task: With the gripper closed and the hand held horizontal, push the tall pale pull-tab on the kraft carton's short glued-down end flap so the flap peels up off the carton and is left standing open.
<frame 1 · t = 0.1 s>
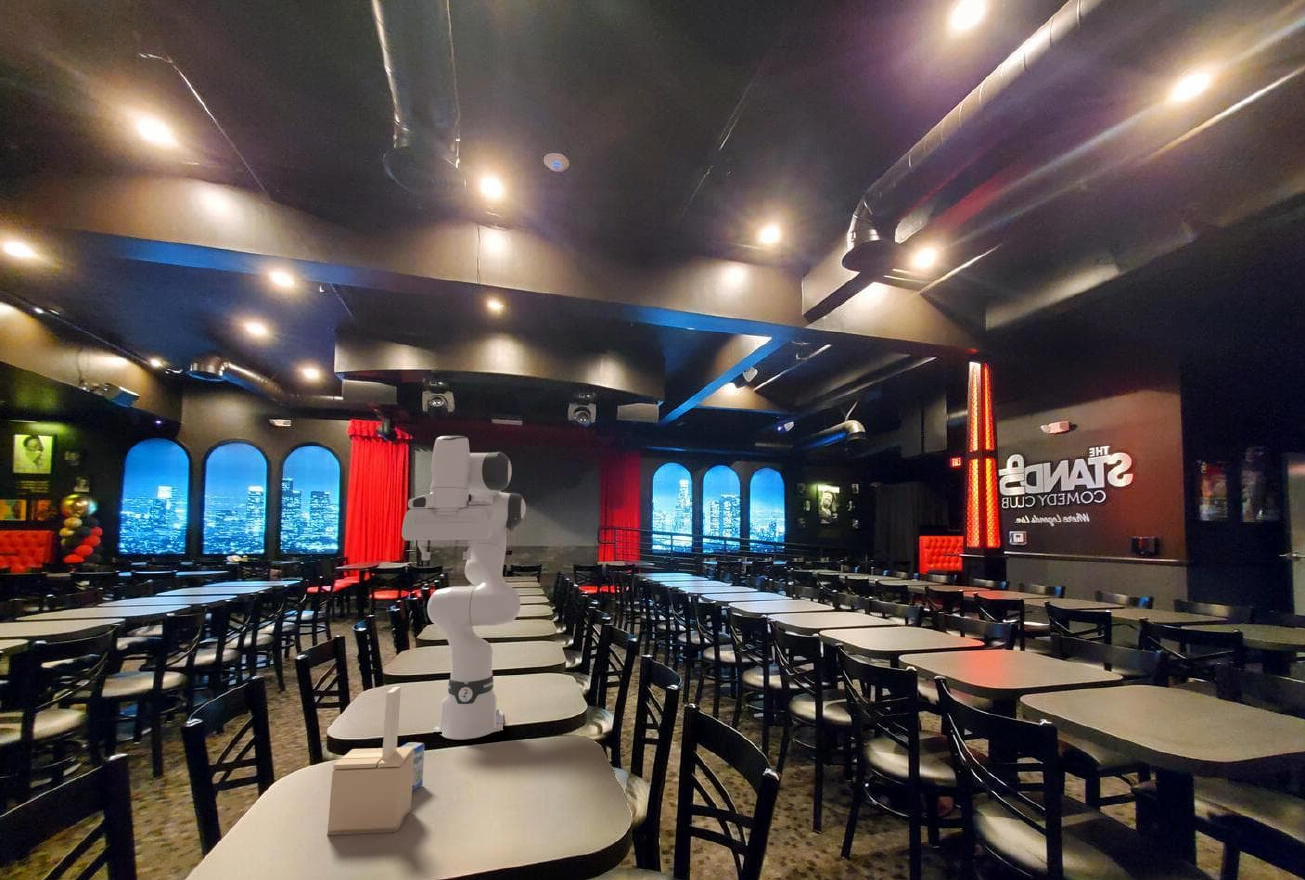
hand: (446, 559, 130), 48 cm above the table, tool pointing down, fingers open, 8 cm apart
flap: (398, 723, 107), point 17 cm above the table, hinge at 0.0°
carton: (370, 822, 104), on the table
medicine box: (402, 793, 116), on the table
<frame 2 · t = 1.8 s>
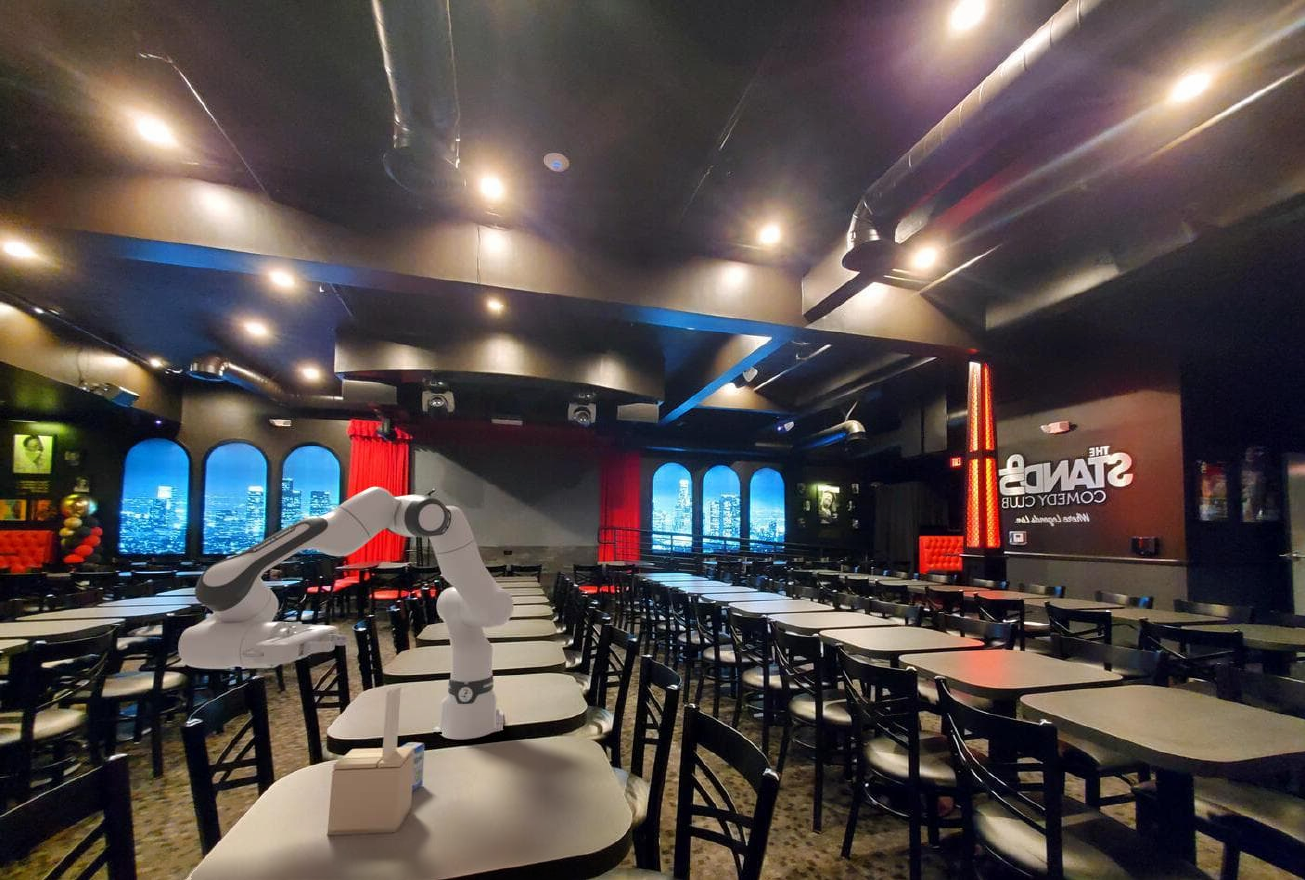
hand: (340, 643, 113), 32 cm above the table, tool horizontal, fingers open, 5 cm apart
nothing on the table moved.
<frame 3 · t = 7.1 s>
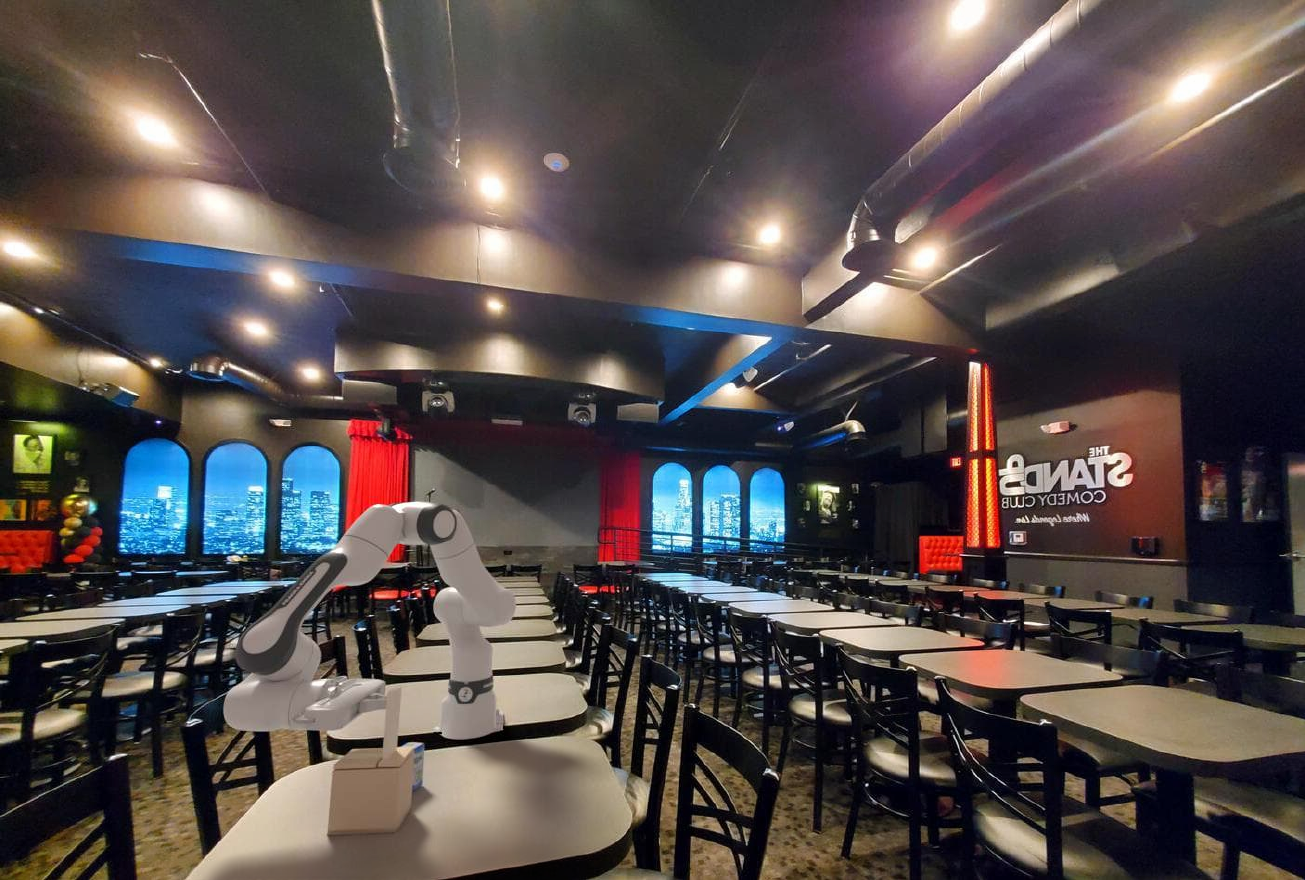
hand: (390, 702, 108), 21 cm above the table, tool horizontal, fingers closed, pressing on flap
flap: (399, 723, 107), point 17 cm above the table, hinge at 0.8°, touching gripper
everything else where it was.
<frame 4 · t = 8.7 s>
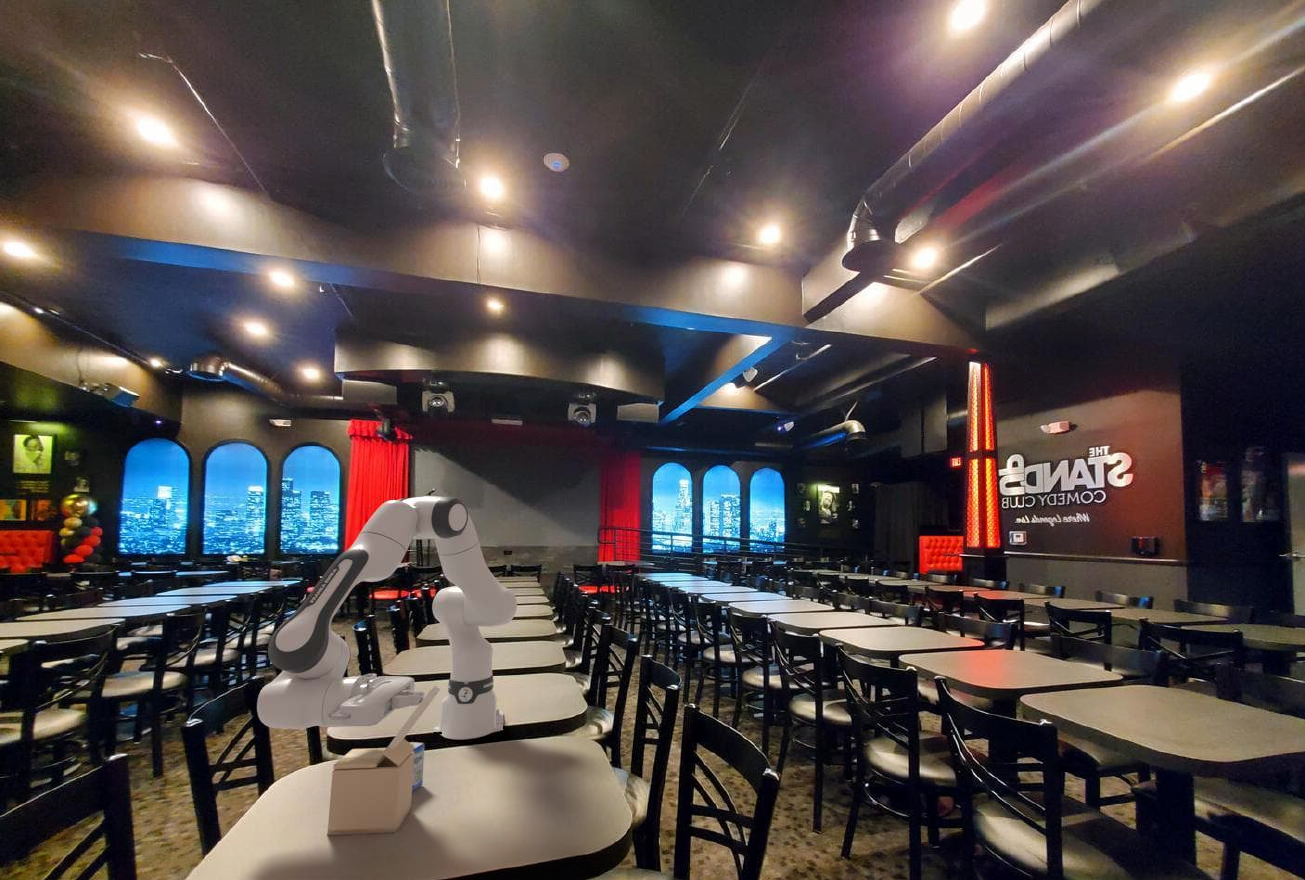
hand: (422, 698, 109), 22 cm above the table, tool horizontal, fingers closed, pressing on flap
flap: (419, 722, 108), point 17 cm above the table, hinge at 36.1°, touching gripper
everything else where it was.
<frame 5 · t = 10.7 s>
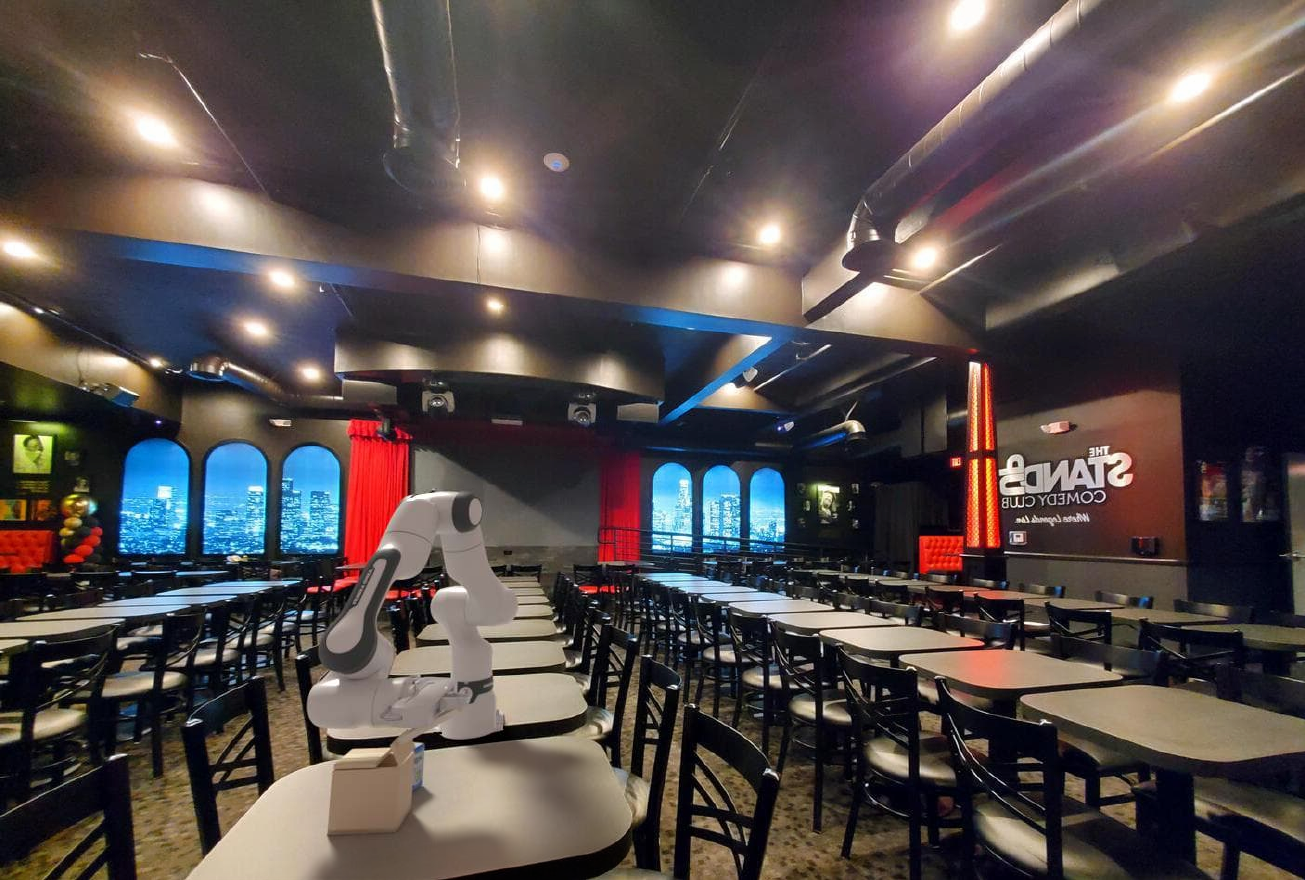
hand: (468, 700, 109), 21 cm above the table, tool horizontal, fingers closed
flap: (432, 730, 108), point 16 cm above the table, hinge at 63.6°
everything else where it was.
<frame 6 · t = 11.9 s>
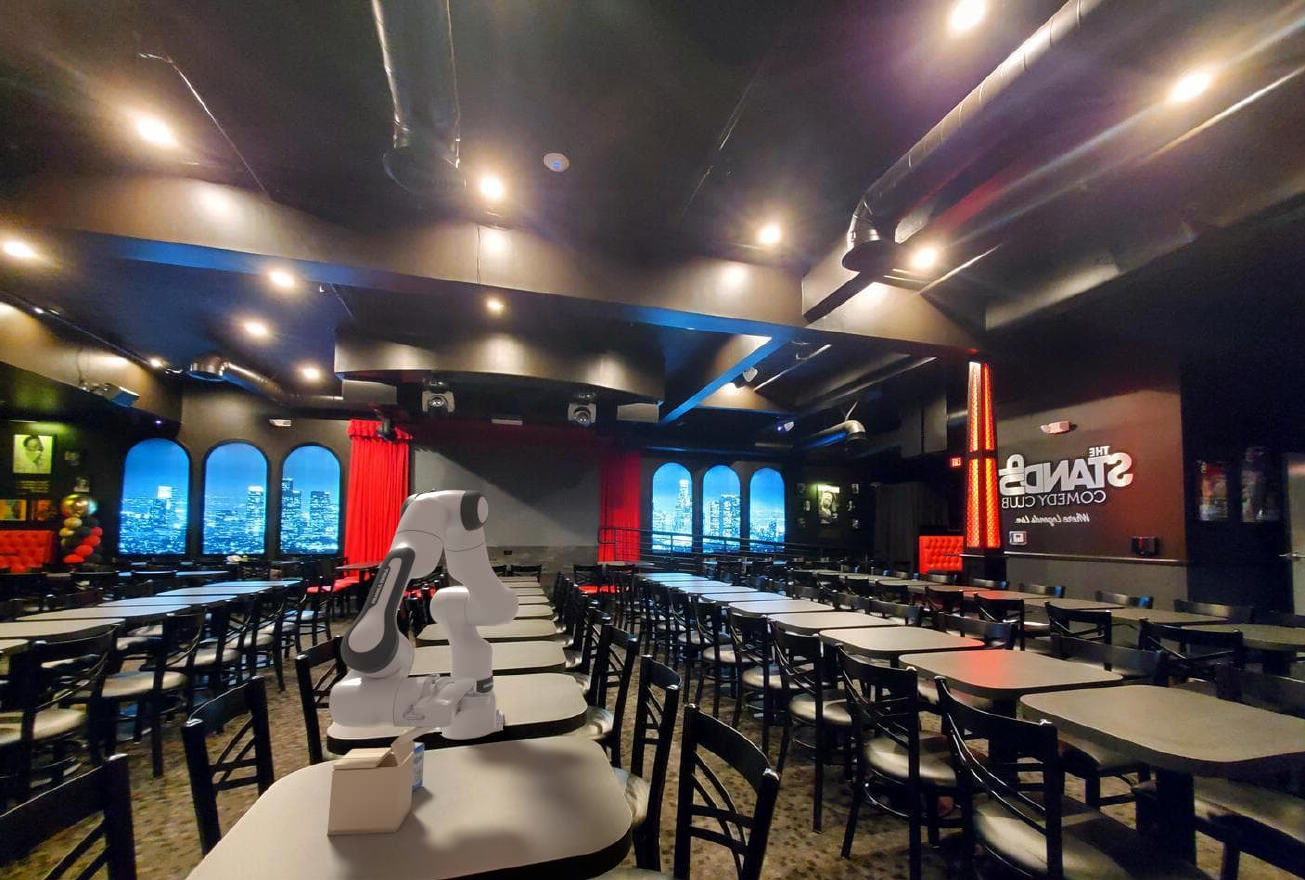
hand: (488, 699, 109), 21 cm above the table, tool horizontal, fingers closed
flap: (433, 731, 108), point 16 cm above the table, hinge at 65.9°, touching arm
everything else where it was.
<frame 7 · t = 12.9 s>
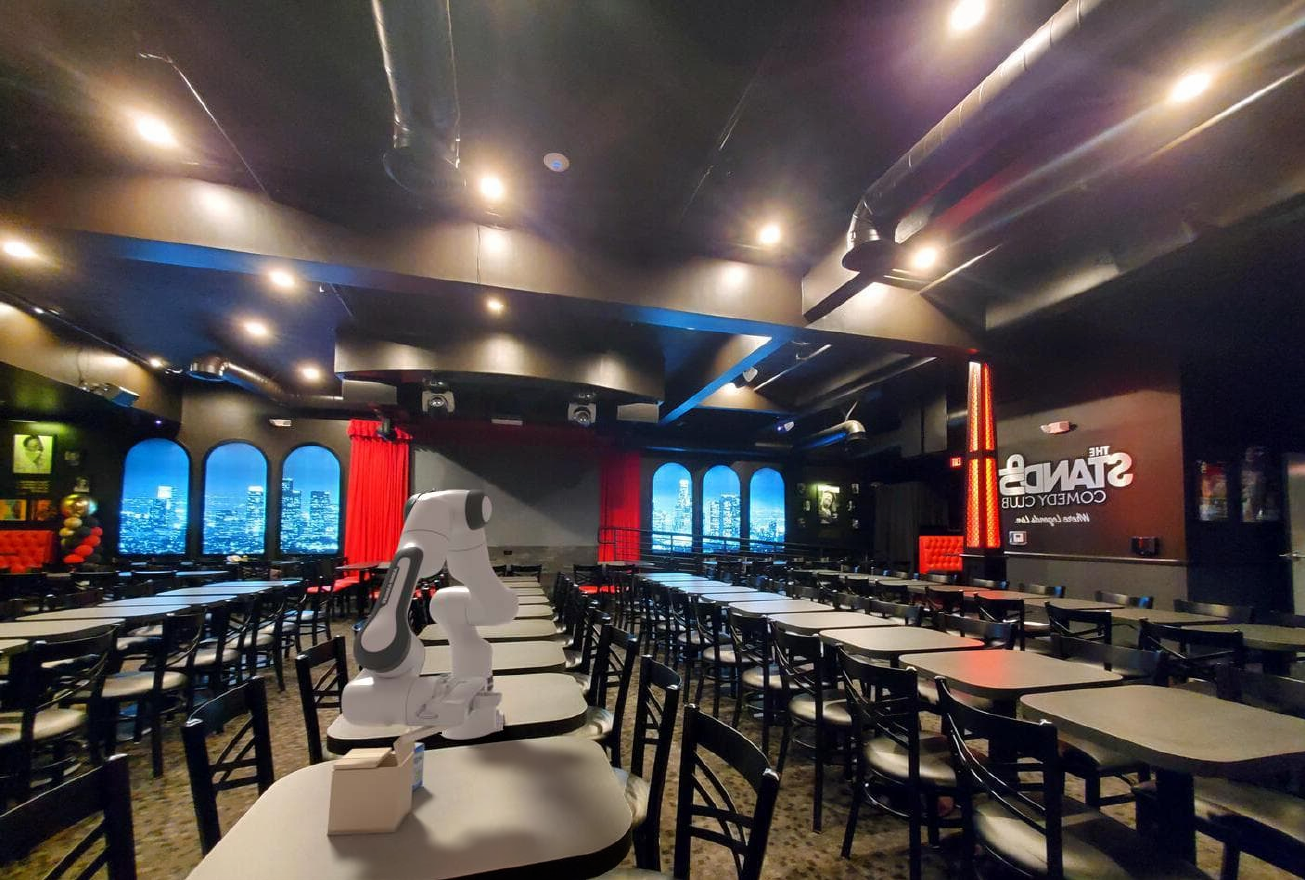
hand: (500, 699, 109), 21 cm above the table, tool horizontal, fingers closed
flap: (435, 735, 108), point 15 cm above the table, hinge at 73.3°, touching arm
everything else where it was.
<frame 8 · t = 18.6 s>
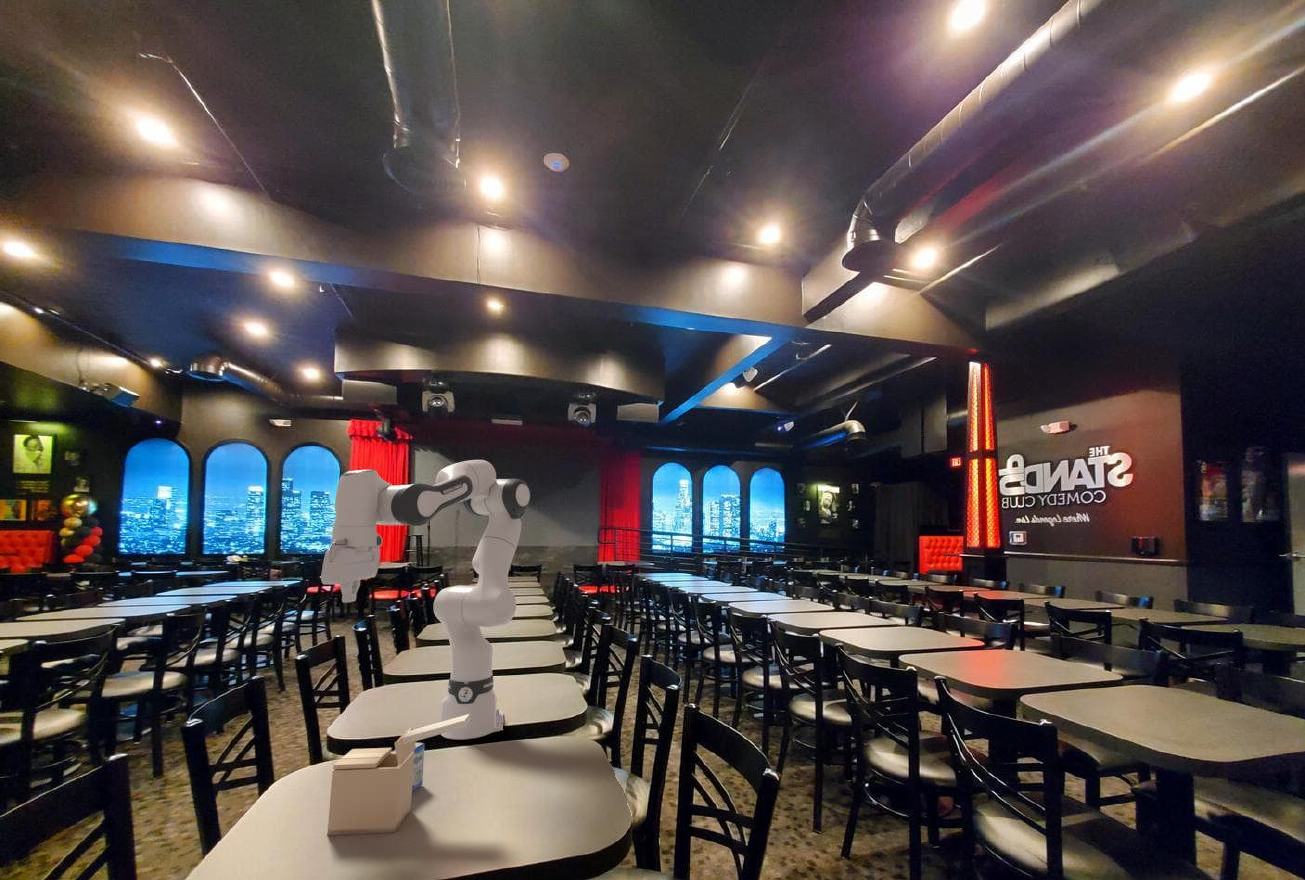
hand: (348, 601, 123), 39 cm above the table, tool pointing down, fingers closed
flap: (436, 736, 108), point 15 cm above the table, hinge at 76.3°
everything else where it was.
at the end: flap at +76° (first picture: +0°) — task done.
